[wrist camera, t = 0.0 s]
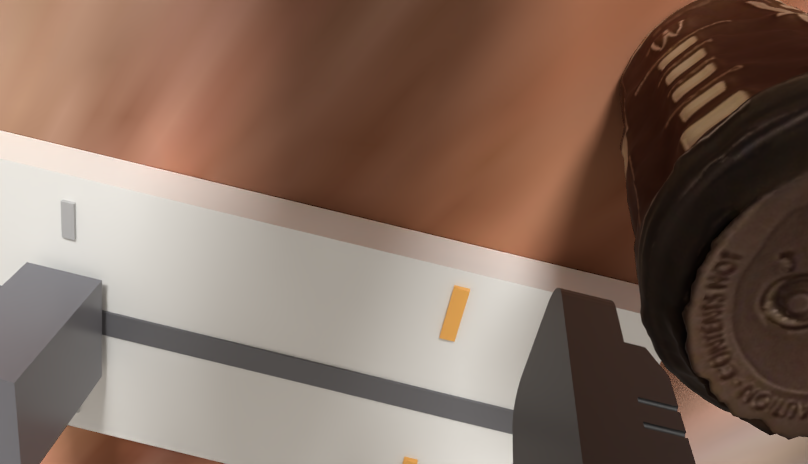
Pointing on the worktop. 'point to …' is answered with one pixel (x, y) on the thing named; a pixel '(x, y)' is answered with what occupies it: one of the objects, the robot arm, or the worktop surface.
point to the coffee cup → (724, 203)
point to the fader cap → (45, 357)
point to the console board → (283, 316)
